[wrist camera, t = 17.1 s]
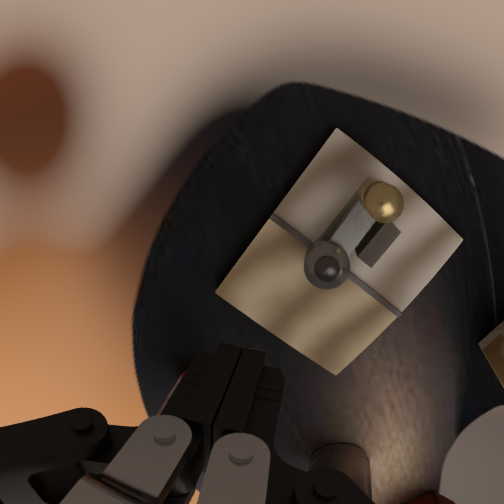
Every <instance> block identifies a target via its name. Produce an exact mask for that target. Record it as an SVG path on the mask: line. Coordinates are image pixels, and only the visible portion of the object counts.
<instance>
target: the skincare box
mask: <svg viewBox="0 0 504 504" xmlns="http://www.w3.org/2000/svg"><path fill="white" fill-rule="evenodd" d="M478 344H479V346H480V348H481V350H482V351H483V353H484V355H485V356H486V358H487V360H488V361H489V363H490V365H491V367H492V368H493V370H494V372H495V373H496V375H497V377H498V379H499V380H500V382H501V384H502V386H503V388H504V321H503V322H502V323H501V324H499V325H498V326H497V327H496V328H495V329H494V330H493V331H492V332H490V333H489V334H488V335H487V336H486V337H485V338H484V339H483V340H481V341H480V342H479V343H478Z"/></svg>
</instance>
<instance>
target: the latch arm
mask: <svg viewBox="0 0 504 504" xmlns="http://www.w3.org/2000/svg"><path fill="white" fill-rule="evenodd" d="M403 208H404V199H403V196H402V194H401V192H400V191H399V189H397V188H396V187H395V186H393V185H391V184H389V183H386V182H384V181H382V180H380V179H377V178H370V179H367V180H365V181H364V182H363V183H362V184H361V185H360V187H359V189H358V196H357V198H356V199H355V201H354V202H353V203H352V205H351V206H350V208H349V209H348V210H347V212H346V213H345V215H344V216H343V217H342V219H341V220H340V221H339V223H338V224H337V226H336V227H335V228H334V230H333V231H332V232H331V234H330V235H329V236H328V238H321V239H318V240H316V241H314V242H313V243H312V244H310V246H309V247H308V248H307V250H306V253H305V259H304V273H305V276H306V278H307V280H308V281H309V282H310V283H311V284H312V285H313V286H315V287H317V288H320V289H333V288H336V287H338V286H340V285H341V284H343V283H344V282H345V281H346V279H347V277H348V276H349V273H350V261H349V255H350V254H351V253H352V252H353V250H354V249H355V248H356V246H357V245H358V244H359V242H360V241H361V240H362V238H363V237H364V236H365V234H366V233H367V232H368V230H369V229H370V228H371V226H372V225H373V224H374V222H375V221H378V222H380V223H390V222H393V221H395V220H396V219H397V218H398V217H399V216H400V215H401V213H402V211H403Z"/></svg>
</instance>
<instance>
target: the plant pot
mask: <svg viewBox="0 0 504 504" xmlns="http://www.w3.org/2000/svg"><path fill="white" fill-rule="evenodd" d="M406 504H455V503H454V502H453V501H451V500H449V499H448V498H446V497H444V496H442V495H440V494H438V493H436V492H435V491H431V492H428V493H426V494H424V495H423V496H421V497H419V498H417V499H415V500H413V501H411V502H408V503H406Z"/></svg>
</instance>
